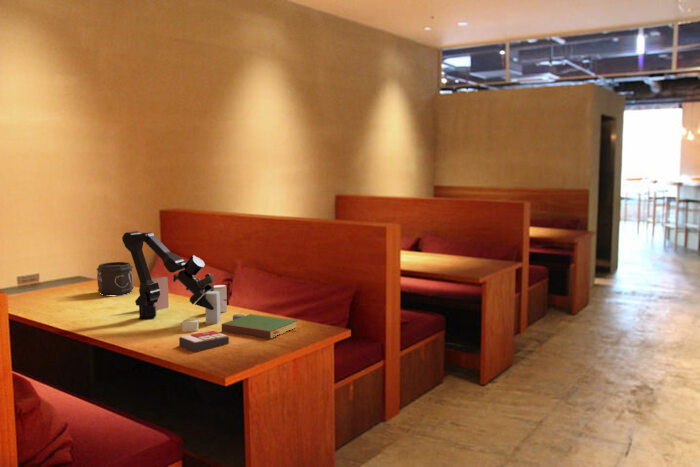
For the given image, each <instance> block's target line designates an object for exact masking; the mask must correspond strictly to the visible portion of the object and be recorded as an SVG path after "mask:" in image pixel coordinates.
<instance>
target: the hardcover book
mask: <svg viewBox="0 0 700 467" xmlns="http://www.w3.org/2000/svg"><path fill="white" fill-rule="evenodd" d="M295 327H296V328H297V319H296V320H294V319H289V318H282V317H281V318H280V317H273V316H266V315H259V314H252V313H249V314H247V315H244V316H243V317H240V318H237V319H235V320H233V319H232V320H229V321H227V322H224V323H221V332H222V333H229V334H233V335H239V336H246V337H251V336H252V337H253V338H257V337H258V338H259V339H263V338H267V339H266V340H272V339H273V338H272V337H274V336H276V335H279V334H281V333H283V332H286V331H288V330H290V329H293V328H295ZM293 330H294V329H293ZM286 333H287V332H286ZM281 335H282V334H281ZM279 336H280V335H279ZM276 337H277V336H276ZM271 338H272V339H271ZM274 338H275V337H274Z"/></svg>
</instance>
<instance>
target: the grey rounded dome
mask: <svg viewBox="0 0 700 467" xmlns="http://www.w3.org/2000/svg"><path fill="white" fill-rule="evenodd" d="M243 316H245V314H242V313H240V314H239V313H238V314H237V313H236V314H233V315H232V320H235V319H237V318H240V317H243Z"/></svg>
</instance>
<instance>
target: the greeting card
mask: <svg viewBox="0 0 700 467" xmlns="http://www.w3.org/2000/svg"><path fill="white" fill-rule="evenodd" d="M151 279H152V281H153V282H154V283H158V285H159V289H160V290H161V291H160V296H159V298H158V301H157V302H156V303H155V306H156V311H160V310H165V309H168V307H170V306H169V285H168V283H169V282H168V281H169V280H168V279H169V278H168V276H158V277H155V276H154V277H151ZM164 308H165V309H164ZM159 309H160V310H159Z"/></svg>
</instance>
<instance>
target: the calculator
mask: <svg viewBox="0 0 700 467" xmlns="http://www.w3.org/2000/svg"><path fill="white" fill-rule="evenodd" d="M178 339H179V344H178V346H179V347H180V348H182V349H184V350H187V351H190V352H193V353H197V352H200V351H199V350H201V351H204V350H203V349H205V350H207V348H208V349H212V348H211V347H213V348H217V347H221V346H224V344H225V345H229V343H230V342H229V340H230V337H229V336H228V335H227V334H224V333H220V332H218V331H216V330H209V331H204V332H203V331H202V332H198V333H192V334H189V335H182V336H180V337H179V338H178ZM220 345H221V346H220ZM216 346H217V347H216Z"/></svg>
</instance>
